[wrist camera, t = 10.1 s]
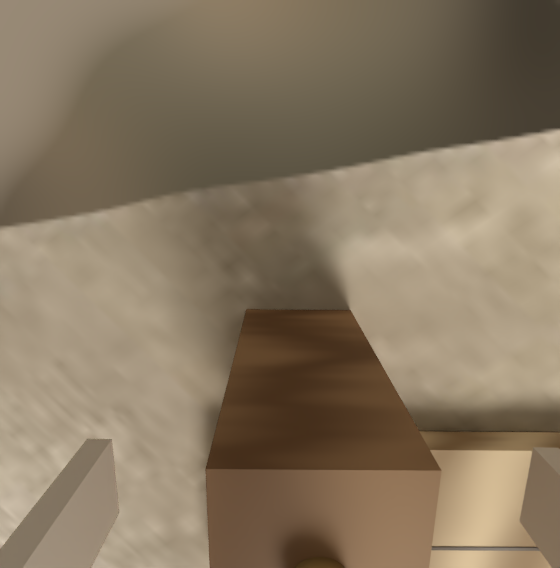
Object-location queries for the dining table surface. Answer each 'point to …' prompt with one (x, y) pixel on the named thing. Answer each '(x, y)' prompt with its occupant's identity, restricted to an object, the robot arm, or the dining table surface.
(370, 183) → the dining table surface
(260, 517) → the block
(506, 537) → the board
